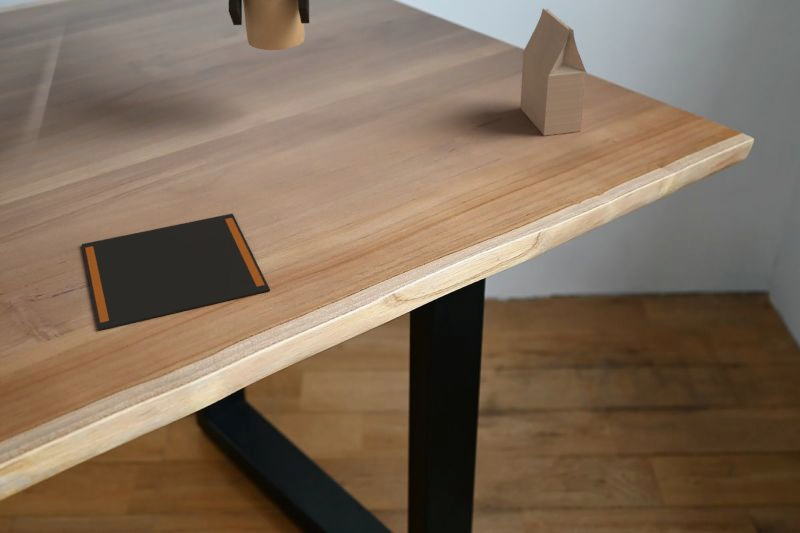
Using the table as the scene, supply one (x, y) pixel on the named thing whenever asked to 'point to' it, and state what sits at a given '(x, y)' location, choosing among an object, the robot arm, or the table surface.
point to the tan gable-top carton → (553, 78)
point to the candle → (273, 24)
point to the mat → (170, 270)
